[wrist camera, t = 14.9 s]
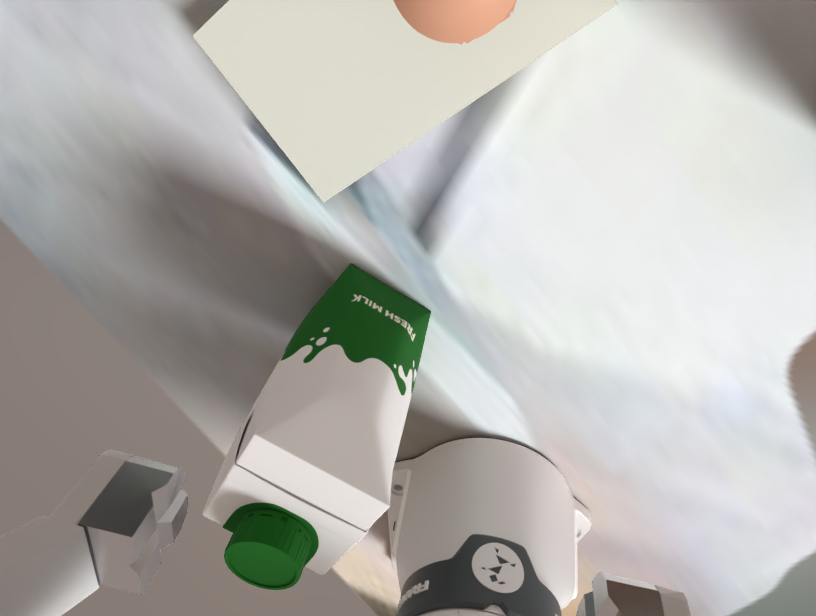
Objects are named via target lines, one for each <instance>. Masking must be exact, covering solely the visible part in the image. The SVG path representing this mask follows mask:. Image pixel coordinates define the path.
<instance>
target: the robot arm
mask: <svg viewBox="0 0 816 616" xmlns="http://www.w3.org/2000/svg"><path fill="white" fill-rule="evenodd" d="M185 481H186V475H185V469H183V468H179V467H175V466H171V465H168V464H164V463H160V462H156V461H152V460H149V459H144V458H141V457H137V456H135V455H131V454H127V453H123V452H118V451H115V450H111V449H108V450H107V451H105V452H104V453H102V454H101V455H99V457H98V458H97V459H96V460H95V462H94V463H93V464H92V465H91V466H90V468H89V469H88V470H87V471H86V472H85V474H84V475H83V476H82V477H81V479H80V480H79V481H78V482H77V484H76V485H75V486H74V487H73V488H72V489H71V491H70V492H69V493H68V495H67V496H66V497H65V498H64V499H63V501H62V502H61V503H60V504H59V505H58V507H57V508H56V509H55V510H54V511H53V513H52V514H51V515H50V516H49V517H44V516H40V517H38V518H36V519H34V520H32V521H30V522H28V523H26V524H24V525H22V526H20V527H18V528H16V529H14V530H12V531H10V532H8V533H6V534H4V535H2V536H0V616H61V615H63V614H64V613H65V612H67V611H68V610H70V609H71V608H72V607H74V606H75V605H76V604H78V603H79V602H80V601H82V600H83V599H85V598H86V597H87V596H89V595H90V594H92V593H93V592H94V591H95V590H97V589H98V588H99V585H101V586H106V587H110V588H114V589H118V590H123V591H127V592H131V593H136V594H140V595H143V594H144V592H145V590H146V589H147V587H148V585H149V583H150V582H151V580H152V578H153V576H154V575H155V573H156V571H157V570H158V568H159V566H160V565H161V556H160V550H162V549H163V548H165V547H166V546H168V545H169V544H172V543H173V542H174V540H175V539H176V537H177V535H178V533H179V531H180V530H181V527H182V525H183V522H184V519H185V516H186V514H187V507H188V495H187V494H186V493H185V492H184V490H183V489H182V486H183V485H184V483H185ZM387 512H388V524H389V537H390V549H391V561H392V566H393V568H394V569H395V570H396V571H397V572H398V579H399V585H400V591H401V598H400V601H399V604H398V607H397V613H396V616H561V610H562V609H564V608H565V607H566V606H567V605H568V604H569V603H570V601H571V599H574V598H575V597H576V595H577V542H578V541H579V540H580V539H581V538H582V537H583V536H584V535H585V534H586V533H587V532H588V531H589V529H590V528H591V518H592V517H591V513H590V512H589V511H588V510H587V509H586V508H585V507H584V506H583V505H582V504H581V503H580V502H578V501H577V500H576V499H575V498H574V497H573V496H572V494H571V493H570V491H569V488H568V486H567V484H566V481H565V479H564V478H563V476H562V475H561V473H560V472H559V471H558V470H557V468H556V467H555V466H554V465H553V464H552V463H550V462H549V461H548V460H547V459H545V458H544V457H543V456H541V455H539V454H538V453H536V452H534V451H532V450H530V449H528V448H526V447H523V446H521V445H518V444H515V443H512V442H508V441H503V440H498V439H490V438H467V439H460V440H455V441H450V442H447V443H444V444H441V445H439V446H437V447H435V448H433V449H431V450H429V451H428V452H426V453H425V454H423V455H421V456H420V457H418V458H415V459H411V460H405V461H400V462H396V463H395V464H394V468H393V473H392V483H391V495H390V507H389V508H388V509H387ZM592 587H593V591H592V592H590V593H587V594H584V596H583V598H582V600H581V602H580V603H579V606H578V611H577V615H576V616H691V613H690V609H689V605H688V601H687V598H686V597H685V595H684V594H683V592H680V591H678V590H673V589H669V588H665V587H660V586H656V585H653V584H652V583H647V582H643V581H639V580H634V579H630V578H626V577H621V576H617V575H613V574H608V573H604V572H600V573H598V574H596V576H595V578H594V579H593V581H592Z"/></svg>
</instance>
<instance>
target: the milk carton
mask: <svg viewBox="0 0 816 616" xmlns="http://www.w3.org/2000/svg"><path fill="white" fill-rule="evenodd" d="M430 314H431V311H429V310H427V309H426V308H424V307H422V306H421V305H419V304H417V303H416V302H414V301H412V300H411V299H409V298H407V297H406V296H404V295H402V294H401V293H399V292H397V291H396V290H394V289H392V288H391V287H389V286H387V285H386V284H384V283H382V282H381V281H379V280H377V279H376V278H374V277H372V276H371V275H369V274H367V273H366V272H364V271H362V270H361V269H359V268H357V267H356V266H354V265H352V264H350V265H349V266H348V268H347V269H346V270H345V271H344V272H343V273H342V275H341V276H340V277H339V278H338V279H337V281H336V282H335V283H334V284H333V285H332V287H331V288H330V289H329V290H328V291H327V292H326V293H325V295H324V296H323V297H322V298H321V299H320V300H319V301H318V302H317V304H316V305H315V306H314V307H313V308H312V310H311V311H310V312H309V314H308V315H307V316H306V317H305V319H304V320H303V322H302V323H301V325H300V326H299V328H298V329H297V331H296V332H295V334H294V336H293V337H292V339H291V341H290V342H289V344H288V346H287V348H286V349H285V351H284V353H283V355H282V356H281V358H280V360H279V361H278V363H277V365H276V367H275V368H274V370H273V372H272V374H271V375H270V377H269V379H268V381H267V382H266V384H265V386H264V387H263V389H262V391H261V393H260V394H259V396H258V398H257V400H256V401H255V403H254V405H253V407H252V409H251V410H250V412H249V414H248V416H247V418H246V419H245V421H244V423H243V425H242V426H241V428H240V430H239V432H238V434H237V436H236V438H235V440H234V442H233V444H232V446H231V448H230V450H229V452H228V454H227V456H226V458H225V461H224V462H223V465H222V467H221V469H220V472H219V474H218V476H217V478H216V481H215V483H214V486H213V488H212V491H211V493H210V496H209V498H208V501H207V503H206V506H205V508H204V511H203V515H204V516H205V517H207V518H209V519H211V520H213V521H216V522H218V523H220V524H222V525H223V528H225V529H227V530H229V531H231V532H233V535H232V537H231V539H230V541H229V543H228V546H227V547H226V550H225V554H224V558H225V562H226V564H227V566H228V567H229V569H230V570H231V571H232V572H233V573H234V574H235V575H236V576H237V577H239V578H240V579H242V580H243V581H245V582H247V583H249V584H252V585H254V586H257V587H260V588H264V589H271V590H280V589H286V588H289V587H292V586H293V585H295V584H296V583H297V582H298V580H299V578H300V576H301V573H302V570H303V567H304V566H306V567H307V568H309V569H311V570H313V571H315V572H316V573H319V574H321V575H324V574H325V573H326V572H327V571H328V570H329V569H330V568H331V567H332V566H333V565H334V564H335V563H336V562H337V561H338V560H339V559H340V558H341V557H343V556H344V555H345V554H346V553H347V552H348V551H349V550H350V549H351V548H352V547H353V546H354V545H355V544H356V543H358V542H359V541H360V540H361V539H362V538H363V537H364V536H365V535H366V534H367V532H368V531H369V529H370V527H371V525H372V524H373V523H374V522H375V521H376V520H377V519H378V518H379V517H380V516H381V515H382V514H383V513H384V512H385V511H386V510H387V509H388V508H389V507H390V495H391V483H392V473H393V468H394V464H395V460H396V457H397V453H398V449H399V444H400V440H401V436H402V432H403V428H404V424H405V420H406V416H407V412H408V408H409V404H410V400H411V396H412V391H413V387H414V383H415V378H416V374H417V370H418V366H419V362H420V358H421V353H422V349H423V344H424V340H425V335H426V331H427V326H428V322H429V318H430Z"/></svg>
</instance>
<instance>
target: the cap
mask: <svg viewBox="0 0 816 616" xmlns="http://www.w3.org/2000/svg"><path fill="white" fill-rule="evenodd" d="M393 1H394V3H395V5H396V7H397V9H398V10H399V12H400V13H401V15H402V16H403V18H404V19H405V20H406V21H407V23H408V24H409V25H411V26H412V28H413V29H415V30H416V31H417V32H419V33H421V34H422V35H424V36H426V37H428V38H430V39H433V40H435V41H439V42H444V43H458V44H461V45H462V44H463V42H466V44H468V43H469V42H471V41H472V40H474V39H476V38H479V37H481V36H483V35H485V34H486V33H488V32H489V31H491V30H492V29H493V28H495V27H496V26H497V25H498V24H499V23H501V22H502V21H504V20H506V19H507V18H509V17H510V13H511V12H513V11H514V7H515V4H516V1H517V0H393Z"/></svg>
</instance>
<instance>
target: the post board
mask: <svg viewBox="0 0 816 616" xmlns="http://www.w3.org/2000/svg"><path fill="white" fill-rule="evenodd" d="M617 4H618V3H617V1H616V0H517V1H516V4H515V7H514V11H513V12H511V13H510V17H509V18H507V19H506V20H504V21H502V22H501V23H499V24H498V25H497V26H496V27H495V28H493V29H492V30H491V31H489V32H488V33H486V34H485V35H483V36H481V37H479V38H476V39H474V40H472V41H471V42H469V43H468V44H466V42H463V44H462V45H461V44H458V43H444V42H439V41H435V40H433V39H430V38H428V37H426V36H424V35H422V34H421V33H419V32H417V31H416V30H415V29H413V28H412V26H411V25H409V24H408V23H407V21H406V20H405V19H404V18H403V16H402V15H401V13H400V12H399V10H398V9H397V7H396V5H395V3H394V1H393V0H229V1H228V2H227V3H226V4H225V5H224V6H223V7H222V8H221V9H219V10H218V11H217V12H216V13H215V14H214V15H213V16H212V17H211V18H210V19H209V20H208V21H207V22H206V23H205V24H204V25H203V26H202V27H201V28H200V29H199V30H198V31H197V32H196V33H195V34H194V35H193V37H194V39H195V40H196V41H197V42H198V44H199V45H200V46H201V48H202V49H203V50H204V51H205V53H206V54H207V55H208V56H209V58H210V59H211V60H212V61H213V63H214V64H215V65H216V67H217V68H218V69H219V70H220V72H221V73H222V74H223V75H224V77H225V78H226V79H227V81H228V82H229V83H230V84H231V86H232V87H233V88H234V89H235V91H236V92H237V93H238V95H239V96H240V97H241V98H242V100H243V101H244V102H245V103H246V105H247V106H248V107H249V108H250V110H251V111H252V112H253V114H254V115H255V116H256V117H257V119H258V120H259V121H260V122H261V124H262V125H263V126H264V128H265V129H266V130H267V131H268V133H269V134H270V135H271V136H272V138H273V139H274V140H275V141H276V143H277V144H278V145H279V147H280V148H281V149H282V150H283V152H284V153H285V154H286V155H287V157H288V158H289V159H290V161H291V162H292V163H293V164H294V166H295V167H296V168H297V169H298V171H299V172H300V173H301V175H302V176H303V177H304V178H305V180H306V181H307V182H308V183H309V185H310V186H311V187H312V188H313V190H314V191H315V192H316V194H317V195H318V196H319V197H320V199H321V200H322V201H323V202H325V201H327V200H328V199H330V198H331V197H333V196H334V195H336V194H337V193H339V192H340V191H342V190H343V189H345V188H346V187H348V186H349V185H350V184H352V183H353V182H355V181H356V180H358V179H359V178H361V177H362V176H364V175H365V174H367V173H368V172H370V171H371V170H373V169H374V168H376V167H377V166H379V165H380V164H382V163H383V162H385V161H386V160H388V159H389V158H390V157H392V156H393V155H395V154H396V153H398V152H399V151H401V150H402V149H404V148H405V147H407V146H408V145H410V144H411V143H413V142H414V141H416V140H417V139H419V138H420V137H422V136H423V135H425V134H426V133H428V132H429V131H431V130H432V129H433V128H435V127H436V126H438V125H439V124H441V123H442V122H444V121H445V120H447V119H448V118H450V117H451V116H453V115H454V114H456V113H457V112H459V111H460V110H462V109H463V108H465V107H466V106H468V105H469V104H471V103H472V102H473V101H475V100H476V99H478V98H479V97H481V96H482V95H484V94H485V93H487V92H488V91H490V90H491V89H493V88H494V87H496V86H497V85H499V84H500V83H502V82H503V81H505V80H506V79H508V78H509V77H511V76H512V75H514V74H515V73H516V72H518V71H519V70H521V69H522V68H524V67H525V66H527V65H528V64H530V63H531V62H533V61H534V60H536V59H537V58H539V57H540V56H542V55H543V54H545V53H546V52H548V51H549V50H551V49H552V48H554V47H555V46H556V45H558V44H559V43H561V42H562V41H564V40H565V39H567V38H568V37H570V36H571V35H573V34H574V33H576V32H577V31H579V30H580V29H582V28H583V27H585V26H586V25H588V24H589V23H591V22H592V21H594V20H595V19H596V18H598V17H599V16H601V15H602V14H604V13H605V12H607V11H608V10H610V9H611V8H613V7H614V6H616V5H617Z"/></svg>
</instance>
